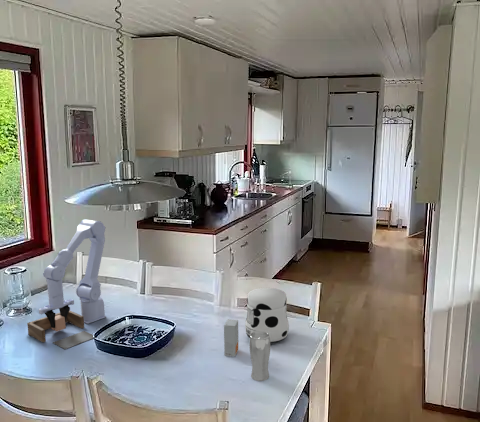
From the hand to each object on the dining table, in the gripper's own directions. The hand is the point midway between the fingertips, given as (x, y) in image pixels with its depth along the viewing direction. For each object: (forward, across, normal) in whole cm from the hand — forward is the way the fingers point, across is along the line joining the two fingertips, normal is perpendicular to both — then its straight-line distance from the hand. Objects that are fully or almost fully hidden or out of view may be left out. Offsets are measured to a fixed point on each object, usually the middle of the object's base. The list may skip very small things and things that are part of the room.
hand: (58, 325), depth 202 cm
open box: (+3, 0, +4) cm, 5 cm away
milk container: (+3, -50, +70) cm, 86 cm away
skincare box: (+3, -31, +68) cm, 75 cm away
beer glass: (+3, -24, +87) cm, 91 cm away
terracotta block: (+1, 0, 0) cm, 1 cm away
